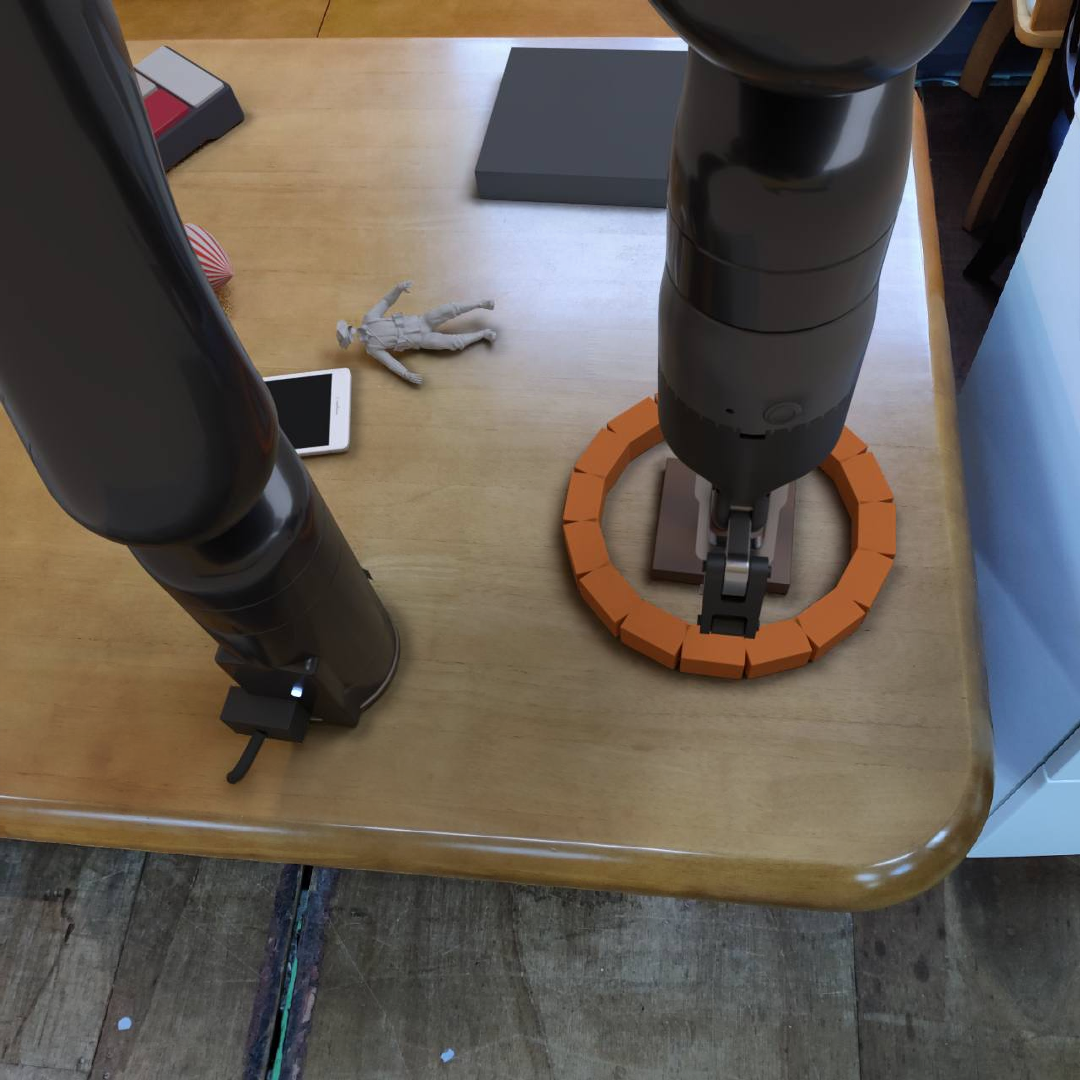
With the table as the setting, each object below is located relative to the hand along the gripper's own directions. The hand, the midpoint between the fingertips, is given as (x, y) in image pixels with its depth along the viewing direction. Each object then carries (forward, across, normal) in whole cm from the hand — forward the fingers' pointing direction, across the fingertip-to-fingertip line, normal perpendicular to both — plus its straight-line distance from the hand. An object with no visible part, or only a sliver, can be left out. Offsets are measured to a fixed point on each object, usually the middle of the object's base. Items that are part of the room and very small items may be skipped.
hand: (729, 546), depth 49 cm
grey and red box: (+14, -47, -57) cm, 75 cm away
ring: (+14, -9, 0) cm, 17 cm away
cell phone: (+14, -14, -37) cm, 42 cm away
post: (+14, -9, 0) cm, 17 cm away
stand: (+14, -49, -15) cm, 53 cm away
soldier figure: (+14, -23, -25) cm, 37 cm away
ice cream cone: (+14, -30, -49) cm, 59 cm away
